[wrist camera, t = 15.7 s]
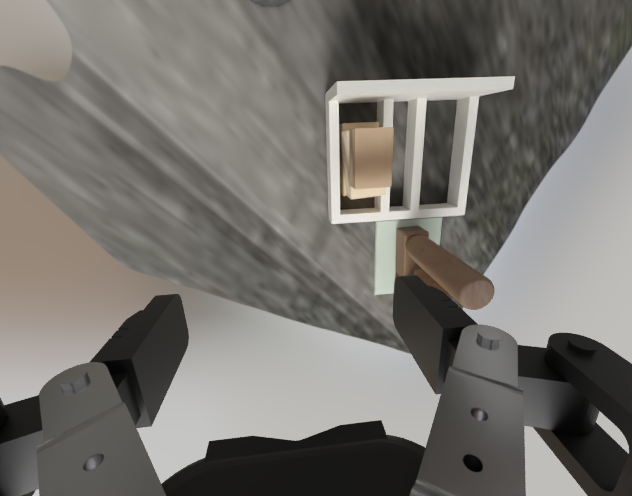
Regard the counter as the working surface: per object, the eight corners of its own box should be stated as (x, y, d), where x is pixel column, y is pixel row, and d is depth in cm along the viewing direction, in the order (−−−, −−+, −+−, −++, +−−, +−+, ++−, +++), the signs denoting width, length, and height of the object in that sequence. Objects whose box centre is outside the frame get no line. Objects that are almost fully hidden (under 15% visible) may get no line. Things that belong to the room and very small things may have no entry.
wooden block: (394, 291, 49) (452, 370, 33) (395, 227, 46) (461, 278, 29) (416, 289, 50) (485, 366, 33) (419, 224, 46) (498, 274, 29)
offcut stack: (337, 124, 41) (351, 120, 32) (373, 122, 41) (397, 118, 33) (338, 192, 44) (351, 205, 35) (372, 190, 44) (393, 202, 36)
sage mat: (375, 220, 46) (376, 221, 45) (440, 216, 47) (442, 217, 46) (373, 293, 50) (374, 294, 49) (433, 287, 51) (435, 289, 50)
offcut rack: (325, 93, 39) (336, 81, 31) (467, 89, 41) (515, 76, 33) (328, 218, 45) (339, 236, 36) (453, 210, 47) (491, 226, 38)
